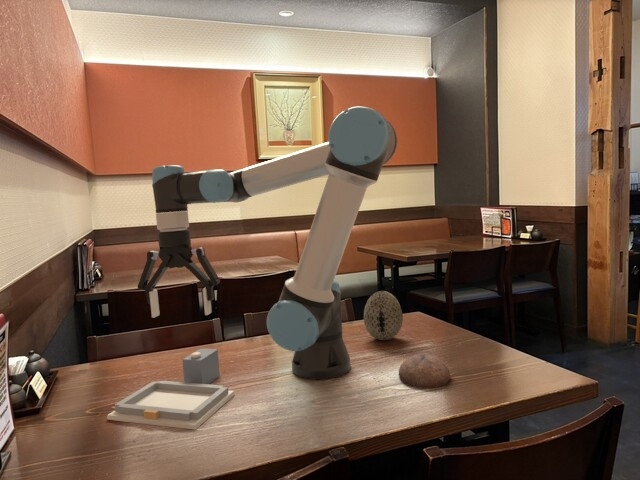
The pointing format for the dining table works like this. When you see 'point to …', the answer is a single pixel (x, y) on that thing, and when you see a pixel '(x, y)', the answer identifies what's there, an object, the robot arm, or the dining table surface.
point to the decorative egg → (383, 316)
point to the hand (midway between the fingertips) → (181, 315)
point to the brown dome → (424, 372)
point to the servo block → (201, 366)
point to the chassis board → (172, 404)
